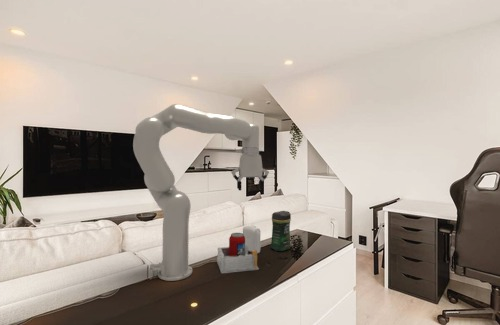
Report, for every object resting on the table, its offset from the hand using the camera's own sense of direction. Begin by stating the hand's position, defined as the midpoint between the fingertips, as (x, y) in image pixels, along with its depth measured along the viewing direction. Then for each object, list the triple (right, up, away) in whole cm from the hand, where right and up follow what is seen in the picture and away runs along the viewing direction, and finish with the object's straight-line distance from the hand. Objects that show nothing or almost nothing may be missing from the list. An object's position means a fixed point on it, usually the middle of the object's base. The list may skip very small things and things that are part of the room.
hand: (250, 189), depth 116 cm
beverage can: (-5, -30, -9) cm, 32 cm away
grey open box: (-5, -30, -8) cm, 32 cm away
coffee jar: (+15, -31, +12) cm, 36 cm away
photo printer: (+1, -31, +9) cm, 32 cm away
